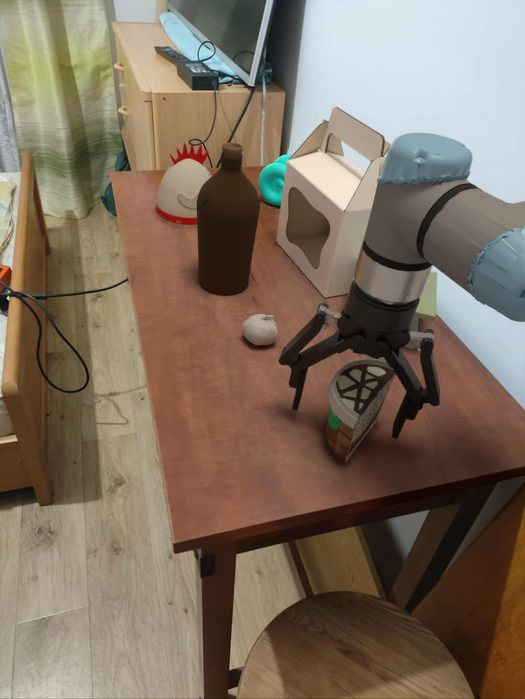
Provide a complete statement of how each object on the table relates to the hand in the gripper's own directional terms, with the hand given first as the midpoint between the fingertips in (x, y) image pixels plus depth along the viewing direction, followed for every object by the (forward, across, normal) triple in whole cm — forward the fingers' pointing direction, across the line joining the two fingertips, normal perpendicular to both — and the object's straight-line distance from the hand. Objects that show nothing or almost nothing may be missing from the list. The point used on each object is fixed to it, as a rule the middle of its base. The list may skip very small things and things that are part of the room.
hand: (345, 417), depth 69 cm
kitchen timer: (+3, +44, -52) cm, 68 cm away
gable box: (+3, +10, -43) cm, 44 cm away
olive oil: (+3, +27, -28) cm, 39 cm away
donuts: (+3, +26, -68) cm, 73 cm away
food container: (+3, 0, 0) cm, 3 cm away
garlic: (+3, +16, -14) cm, 21 cm away
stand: (+2, -3, -28) cm, 28 cm away
